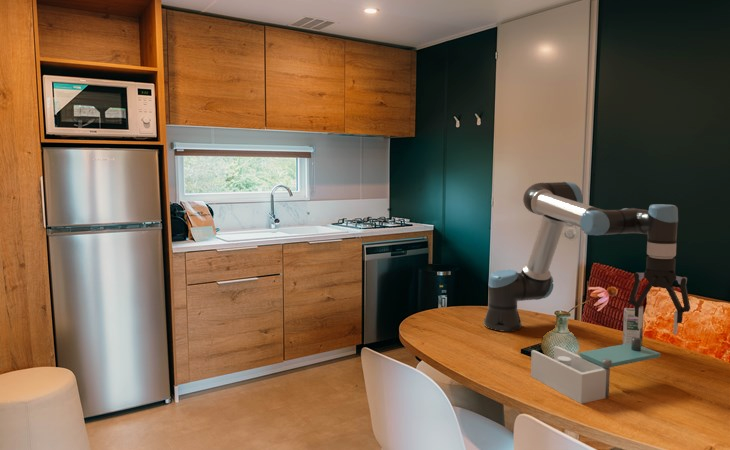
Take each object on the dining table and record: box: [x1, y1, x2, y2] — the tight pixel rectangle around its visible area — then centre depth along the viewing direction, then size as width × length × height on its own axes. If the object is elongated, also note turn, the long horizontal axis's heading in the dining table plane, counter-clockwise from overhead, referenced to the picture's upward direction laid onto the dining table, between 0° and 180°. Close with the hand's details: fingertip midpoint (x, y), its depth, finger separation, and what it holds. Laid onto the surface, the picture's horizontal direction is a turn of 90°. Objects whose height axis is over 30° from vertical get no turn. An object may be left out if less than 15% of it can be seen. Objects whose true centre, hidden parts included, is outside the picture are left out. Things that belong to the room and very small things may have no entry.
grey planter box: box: [530, 345, 611, 405], centre depth 158 cm, size 11×22×9 cm, turn 22°
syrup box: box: [622, 307, 644, 347], centre depth 191 cm, size 6×6×14 cm
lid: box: [578, 337, 661, 369], centre depth 158 cm, size 11×22×5 cm, turn 112°
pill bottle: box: [557, 356, 572, 368], centre depth 160 cm, size 5×5×8 cm
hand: (657, 330), depth 157 cm, fingers open, 9 cm apart
